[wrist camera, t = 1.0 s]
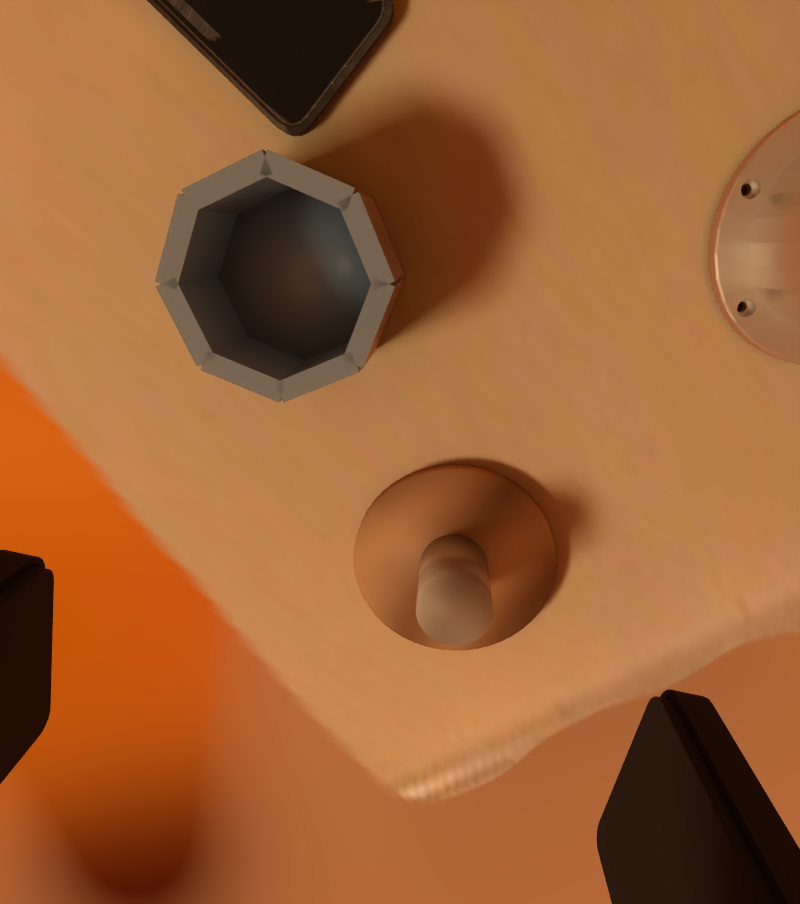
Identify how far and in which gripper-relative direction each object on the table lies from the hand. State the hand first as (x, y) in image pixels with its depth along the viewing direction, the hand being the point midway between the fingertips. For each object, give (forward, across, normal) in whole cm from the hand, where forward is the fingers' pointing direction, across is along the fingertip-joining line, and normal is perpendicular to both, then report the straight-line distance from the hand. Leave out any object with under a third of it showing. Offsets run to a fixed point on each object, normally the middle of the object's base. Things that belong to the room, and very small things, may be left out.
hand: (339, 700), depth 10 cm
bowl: (+26, +7, -4) cm, 27 cm away
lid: (+26, -5, +10) cm, 29 cm away
